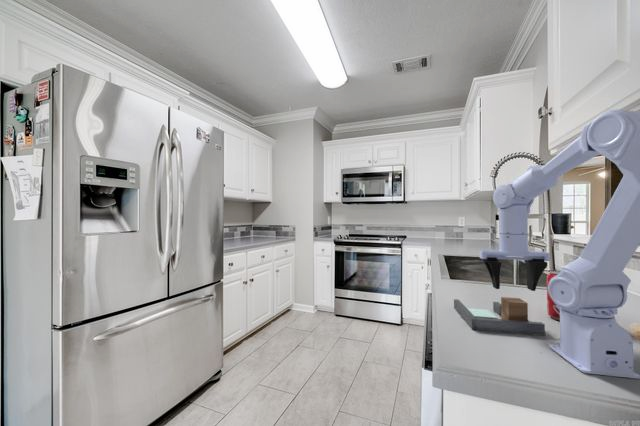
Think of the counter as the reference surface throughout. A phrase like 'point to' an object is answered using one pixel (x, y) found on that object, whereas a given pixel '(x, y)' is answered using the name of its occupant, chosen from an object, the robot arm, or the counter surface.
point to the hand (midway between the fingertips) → (513, 288)
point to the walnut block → (514, 309)
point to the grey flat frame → (498, 322)
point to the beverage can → (551, 306)
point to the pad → (482, 313)
